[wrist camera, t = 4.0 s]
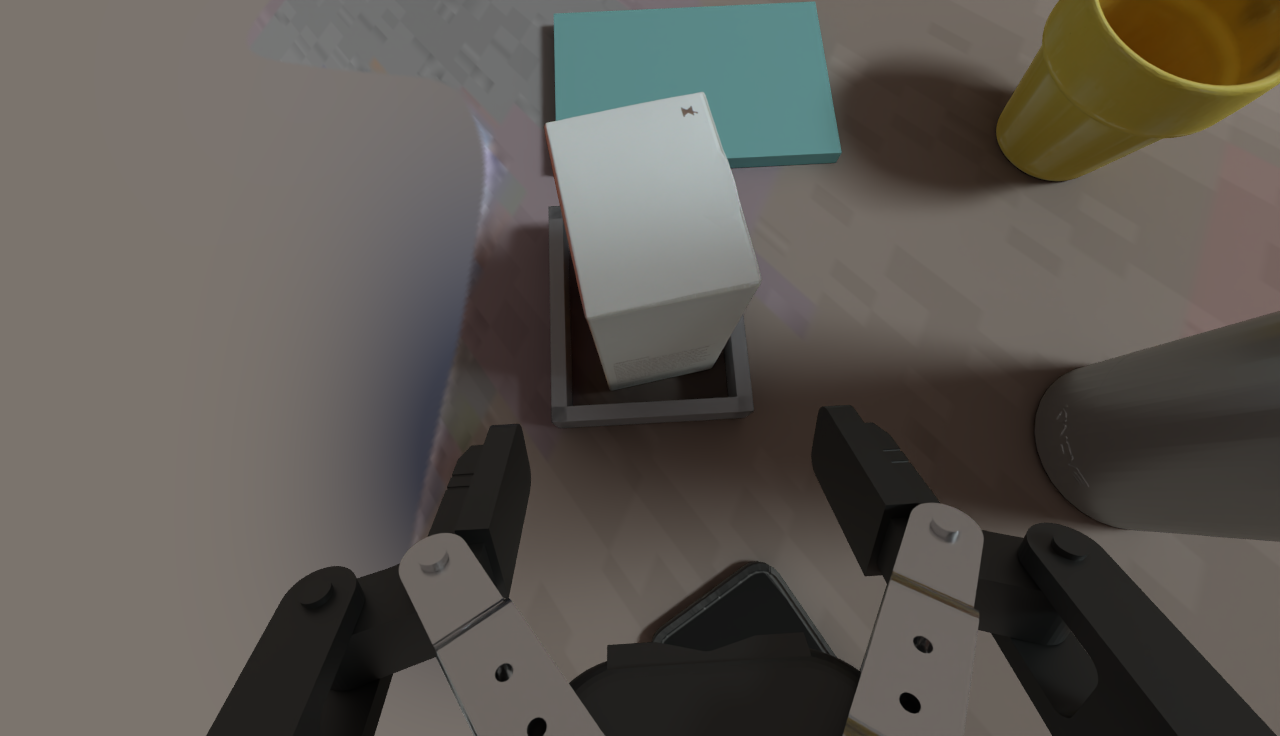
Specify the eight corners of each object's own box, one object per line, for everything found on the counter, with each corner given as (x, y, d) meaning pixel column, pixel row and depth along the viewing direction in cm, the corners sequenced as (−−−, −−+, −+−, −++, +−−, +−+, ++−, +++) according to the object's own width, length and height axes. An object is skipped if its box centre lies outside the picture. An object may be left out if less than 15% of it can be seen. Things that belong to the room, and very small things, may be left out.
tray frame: (723, 219, 32) (730, 197, 30) (744, 417, 29) (754, 410, 26) (555, 228, 32) (548, 206, 29) (559, 428, 29) (551, 422, 26)
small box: (580, 269, 31) (540, 116, 19) (680, 248, 32) (707, 84, 19) (608, 395, 29) (584, 321, 17) (714, 371, 30) (769, 280, 17)
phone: (830, 954, 22) (642, 644, 25) (821, 932, 24) (642, 638, 26) (963, 836, 23) (767, 552, 26) (948, 821, 25) (762, 550, 28)
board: (810, 14, 36) (815, 1, 35) (835, 162, 33) (841, 152, 32) (556, 26, 36) (553, 13, 35) (559, 176, 33) (556, 166, 32)
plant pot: (942, 168, 33) (1066, 36, 23) (992, 52, 35) (1123, -112, 26) (1100, 235, 32) (1297, 125, 22) (1141, 110, 34) (1336, -38, 24)
